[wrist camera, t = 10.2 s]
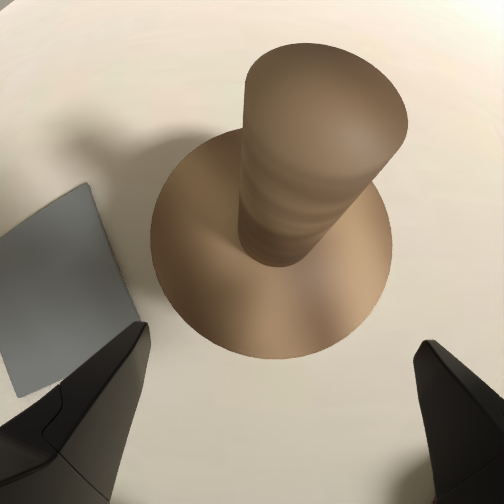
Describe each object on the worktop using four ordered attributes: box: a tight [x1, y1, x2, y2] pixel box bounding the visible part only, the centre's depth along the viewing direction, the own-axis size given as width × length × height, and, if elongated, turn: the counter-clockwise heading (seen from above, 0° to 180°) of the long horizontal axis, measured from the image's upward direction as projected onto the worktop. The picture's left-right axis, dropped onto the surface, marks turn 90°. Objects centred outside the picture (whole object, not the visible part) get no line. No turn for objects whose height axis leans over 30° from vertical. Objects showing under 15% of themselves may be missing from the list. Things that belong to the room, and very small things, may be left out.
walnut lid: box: [151, 43, 408, 359], centre depth 12 cm, size 13×13×11 cm
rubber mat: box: [0, 183, 141, 398], centre depth 20 cm, size 13×13×1 cm
